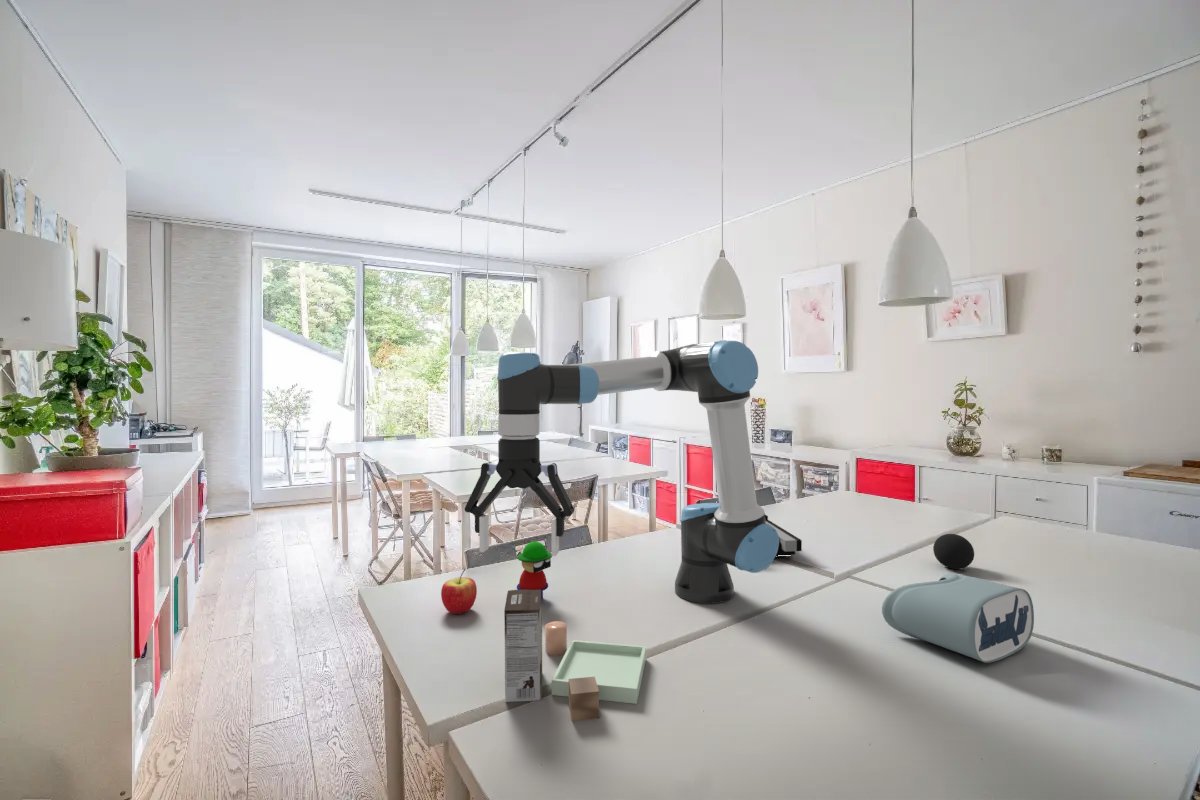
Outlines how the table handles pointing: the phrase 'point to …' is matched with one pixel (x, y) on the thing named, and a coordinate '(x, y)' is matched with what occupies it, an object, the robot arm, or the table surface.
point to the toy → (534, 567)
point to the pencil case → (963, 615)
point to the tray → (603, 669)
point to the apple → (459, 594)
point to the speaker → (953, 551)
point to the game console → (786, 540)
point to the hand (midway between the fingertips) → (519, 552)
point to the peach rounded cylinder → (556, 638)
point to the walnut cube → (583, 698)
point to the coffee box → (523, 645)
